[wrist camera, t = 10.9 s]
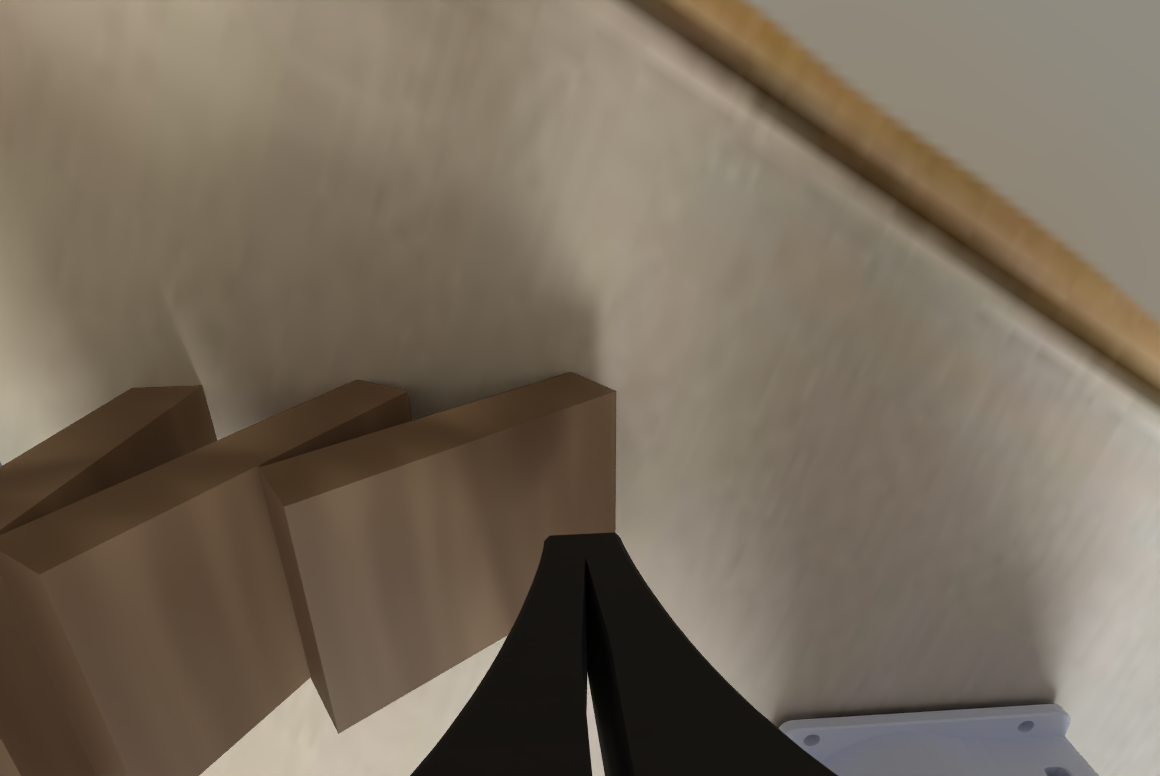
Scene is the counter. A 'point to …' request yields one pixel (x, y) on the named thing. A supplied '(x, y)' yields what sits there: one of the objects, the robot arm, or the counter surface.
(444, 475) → the domino
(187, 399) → the domino
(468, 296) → the counter surface
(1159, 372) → the counter surface
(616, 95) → the counter surface
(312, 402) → the domino
